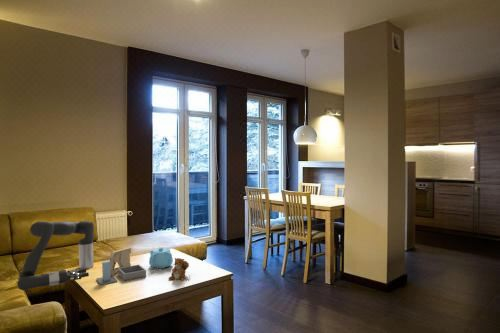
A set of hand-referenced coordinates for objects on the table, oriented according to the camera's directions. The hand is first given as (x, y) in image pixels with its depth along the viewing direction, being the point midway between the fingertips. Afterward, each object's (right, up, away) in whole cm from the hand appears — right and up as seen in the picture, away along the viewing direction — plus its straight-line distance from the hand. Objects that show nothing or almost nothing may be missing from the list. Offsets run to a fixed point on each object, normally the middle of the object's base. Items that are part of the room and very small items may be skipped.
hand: (87, 272), depth 217 cm
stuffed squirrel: (+55, -7, +12) cm, 56 cm away
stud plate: (+9, -7, +7) cm, 14 cm away
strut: (+9, -6, +7) cm, 13 cm away
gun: (+10, -7, +29) cm, 31 cm away
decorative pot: (+37, -7, +35) cm, 51 cm away
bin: (+22, -7, +16) cm, 28 cm away
